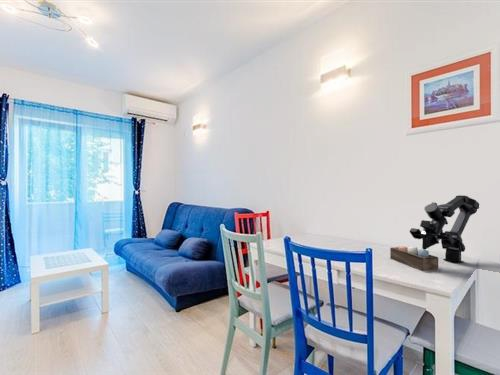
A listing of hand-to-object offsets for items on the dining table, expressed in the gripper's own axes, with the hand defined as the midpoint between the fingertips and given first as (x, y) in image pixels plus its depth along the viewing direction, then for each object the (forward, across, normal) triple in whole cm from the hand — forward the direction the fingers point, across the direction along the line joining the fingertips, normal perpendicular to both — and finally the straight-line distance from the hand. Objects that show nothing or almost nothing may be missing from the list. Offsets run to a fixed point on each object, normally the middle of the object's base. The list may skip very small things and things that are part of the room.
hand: (423, 248), depth 130 cm
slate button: (+4, 0, +4) cm, 6 cm away
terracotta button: (+2, -13, +8) cm, 16 cm away
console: (+5, -7, +8) cm, 12 cm away
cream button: (+3, -7, +5) cm, 9 cm away
